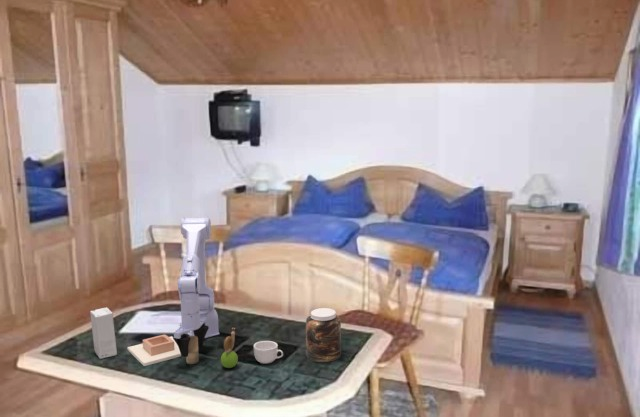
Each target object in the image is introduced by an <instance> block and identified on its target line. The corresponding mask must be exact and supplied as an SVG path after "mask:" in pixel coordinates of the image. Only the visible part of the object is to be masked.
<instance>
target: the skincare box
mask: <svg viewBox="0 0 640 417" xmlns="http://www.w3.org/2000/svg"><path fill="white" fill-rule="evenodd" d="M89 312H90V320H91V330H92V331H91V332H92V339H93V348H94V349H93V350H94V353H95V354H96V356H98V358H99V359H100V360H101V359H104V358H109V357H115V356H117V355H118V353H117V341H116V334H115V333H116V332H115V325H114V324H115V323H114V314H113V312H112V311H111V310H110V309H109V307H101V308H97V309H94V310H90V311H89Z"/></svg>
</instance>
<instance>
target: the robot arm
mask: <svg viewBox="0 0 640 417" xmlns="http://www.w3.org/2000/svg"><path fill="white" fill-rule="evenodd" d="M211 224H212V222H211V218H210V217H209V216H207V217H182V218H181V220H180V233H181V235H182V237H183V238H184V240H186V256H184V257H183V258H182V261H181V270H180V271H181V272H180V277H178V278H177V279H178V280H177V290H178V296H179V297H178V299H179V300H180V313H181V314H180V315H181V317H180V319H181V323H179V327H178V328H177V329H176V330H175V331H173V336H172V337H173V339H174V340H175V342H176V343H177V345H178V347H179V350H180V353H181V356H180V357H183V358H186V357H188V347H189V341H190V339H191V338H190V337H188V336H197V337H198V349H202V348H203V346H204V343H205V339H207V338H211V337H214V336H219V335H220V332H219V328H220V327H219V316H218V312H217V310H216V309H215V293H214V290H213V287H210V286H209V285H208V284H206V283H207V282H206V255H205V254H206V251H205V250H206V249H205V243H206V242H207V241H206V240H209V239H211V236H212V226H211ZM187 335H188V336H187Z"/></svg>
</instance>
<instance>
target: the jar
mask: <svg viewBox="0 0 640 417" xmlns="http://www.w3.org/2000/svg"><path fill="white" fill-rule="evenodd" d="M341 321H342V320H341V318H340V316H339V315H337V312H336V310H334V309H333V308H329V307H328V308H327V307H321V308H320V307H319V308H316V309H312V310H311V311H310V315H309V316H307V317H306V320H305V356H306V358H307V360H308V361H309V360H310V361H311V362H315V363H316V362H317V363H331V362H334V361H336V359H337V360H339V359H340V358H341V356H342V322H341ZM330 361H331V362H330Z"/></svg>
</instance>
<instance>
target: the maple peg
mask: <svg viewBox="0 0 640 417" xmlns="http://www.w3.org/2000/svg"><path fill="white" fill-rule="evenodd" d="M187 337H190V338H191V339H190V341H189V347H188V357H185V360H186V361H185V362H186V364H188V365H193V364H194V365H195V364H197V363H199V362H200V360H199V358H200V357H199V355H200V354H199V348H198V337H197V336H189V335H188V336H187Z"/></svg>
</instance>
